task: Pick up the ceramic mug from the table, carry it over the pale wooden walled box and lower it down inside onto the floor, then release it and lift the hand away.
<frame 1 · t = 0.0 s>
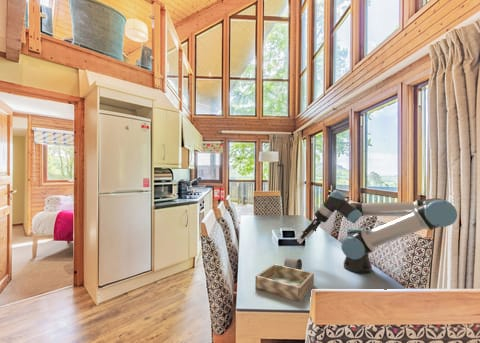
hand: (302, 239, 152), 15 cm above the table, tool tilted 35°, fingers open, 13 cm apart
walled box: (285, 286, 122), on the table
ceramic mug: (292, 272, 141), on the table
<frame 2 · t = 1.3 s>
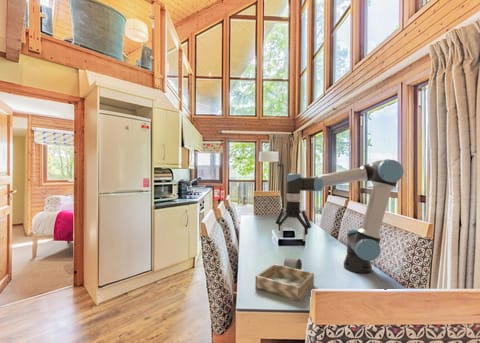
hand: (292, 238, 141), 19 cm above the table, tool pointing down, fingers open, 13 cm apart
nothing on the table moved.
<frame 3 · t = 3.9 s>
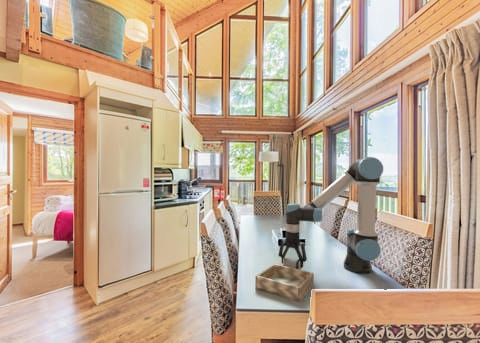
hand: (292, 271, 141), 0 cm above the table, tool pointing down, fingers closed on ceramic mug, 8 cm apart
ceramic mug: (291, 272, 140), on the table, touching gripper
when the fingers open (3 cm above the table, at t = 10.7 s): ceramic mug drops 2 cm, resting on walled box.
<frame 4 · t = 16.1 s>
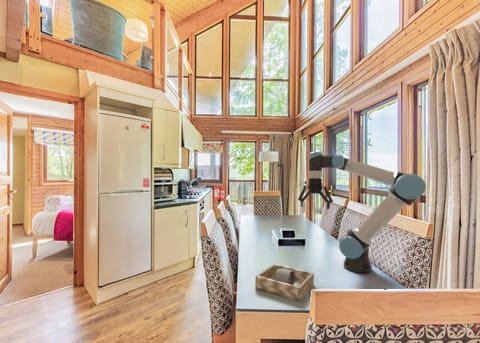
hand: (314, 213, 150), 32 cm above the table, tool pointing down, fingers open, 13 cm apart
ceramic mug: (283, 286, 121), point 1 cm above the table, touching walled box
at the end: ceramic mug inside the target area on the walled box (1.7 cm from its centre), point 0.8 cm above the walled box's base; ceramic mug tilted 2°; the gripper is holding nothing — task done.
